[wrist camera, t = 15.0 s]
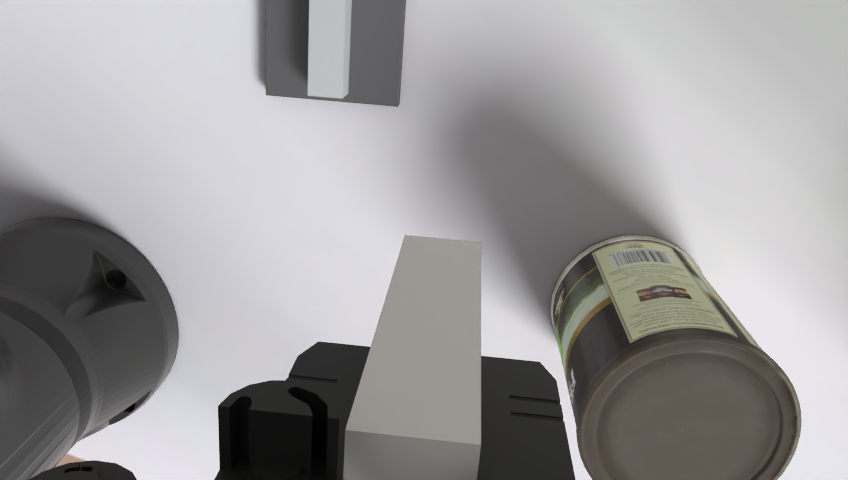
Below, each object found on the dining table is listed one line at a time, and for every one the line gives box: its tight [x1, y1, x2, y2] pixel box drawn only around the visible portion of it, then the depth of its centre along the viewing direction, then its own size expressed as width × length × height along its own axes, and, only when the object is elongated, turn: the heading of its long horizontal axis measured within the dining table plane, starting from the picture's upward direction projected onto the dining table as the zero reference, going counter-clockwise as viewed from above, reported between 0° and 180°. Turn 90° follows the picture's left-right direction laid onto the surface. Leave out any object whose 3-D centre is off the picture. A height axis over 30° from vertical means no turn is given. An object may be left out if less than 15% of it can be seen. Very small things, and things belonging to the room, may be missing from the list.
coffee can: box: [551, 235, 801, 480], centre depth 40 cm, size 10×10×14 cm
